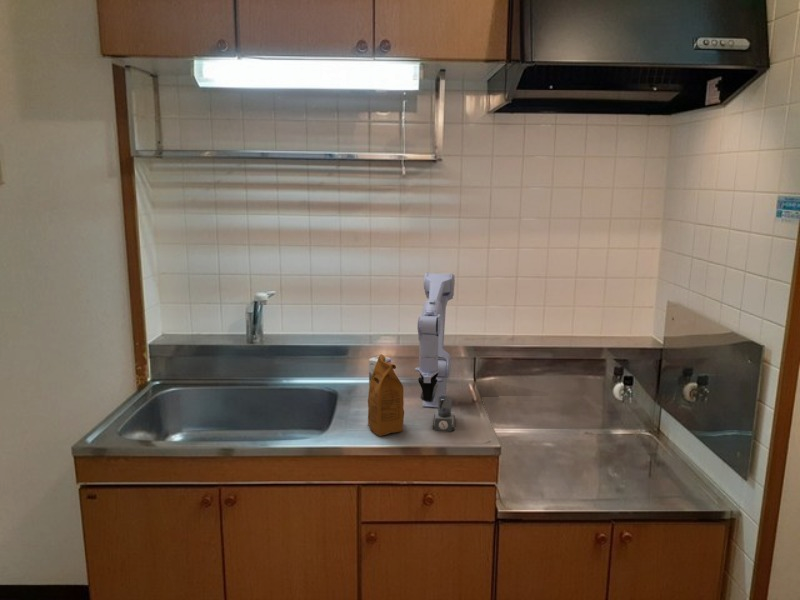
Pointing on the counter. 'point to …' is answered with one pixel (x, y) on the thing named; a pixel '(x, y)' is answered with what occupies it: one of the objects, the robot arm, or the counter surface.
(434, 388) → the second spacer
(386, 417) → the coffee package
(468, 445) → the counter surface
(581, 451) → the counter surface
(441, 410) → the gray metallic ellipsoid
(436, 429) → the dial scale
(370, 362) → the syrup box
